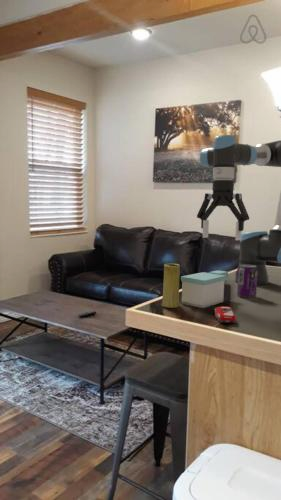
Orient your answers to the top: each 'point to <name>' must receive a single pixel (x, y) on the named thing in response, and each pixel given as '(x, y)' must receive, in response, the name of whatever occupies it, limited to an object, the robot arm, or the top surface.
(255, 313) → the top surface
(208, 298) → the tub
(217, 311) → the race car
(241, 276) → the beverage can
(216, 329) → the top surface
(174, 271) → the vase
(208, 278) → the block
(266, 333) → the top surface
